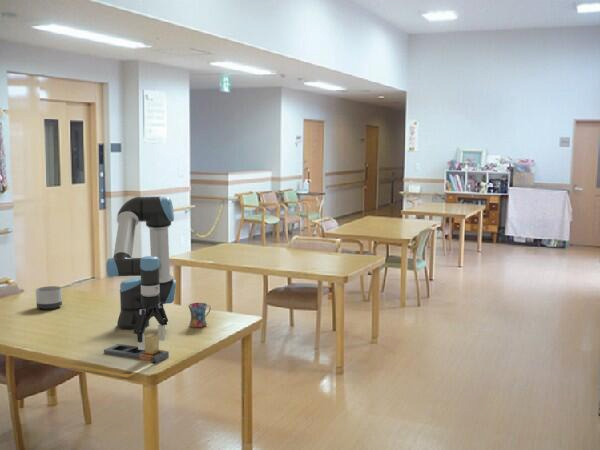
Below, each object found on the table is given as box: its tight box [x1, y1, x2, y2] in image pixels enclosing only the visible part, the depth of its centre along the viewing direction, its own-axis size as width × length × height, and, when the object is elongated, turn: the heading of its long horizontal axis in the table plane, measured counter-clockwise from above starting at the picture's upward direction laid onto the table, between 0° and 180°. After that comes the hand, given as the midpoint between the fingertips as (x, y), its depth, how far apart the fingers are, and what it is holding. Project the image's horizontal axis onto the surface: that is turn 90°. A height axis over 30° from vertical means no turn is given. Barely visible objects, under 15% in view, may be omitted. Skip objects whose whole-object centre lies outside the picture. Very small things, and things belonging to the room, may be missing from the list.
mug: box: [187, 302, 212, 328], centre depth 308 cm, size 12×9×11 cm
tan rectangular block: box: [145, 333, 160, 356], centre depth 259 cm, size 4×4×9 cm
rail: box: [103, 343, 170, 365], centre depth 263 cm, size 26×9×3 cm, turn 67°
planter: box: [35, 285, 63, 310], centre depth 341 cm, size 13×13×10 cm
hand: (151, 344), depth 259 cm, fingers open, 13 cm apart
